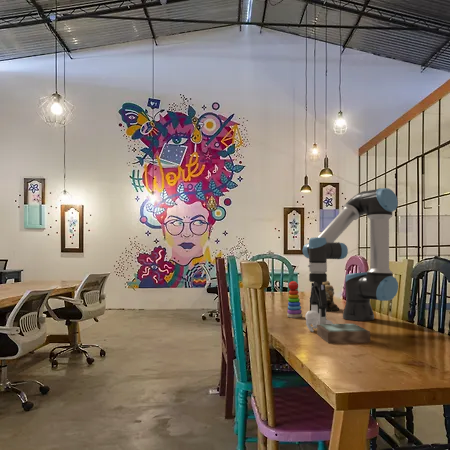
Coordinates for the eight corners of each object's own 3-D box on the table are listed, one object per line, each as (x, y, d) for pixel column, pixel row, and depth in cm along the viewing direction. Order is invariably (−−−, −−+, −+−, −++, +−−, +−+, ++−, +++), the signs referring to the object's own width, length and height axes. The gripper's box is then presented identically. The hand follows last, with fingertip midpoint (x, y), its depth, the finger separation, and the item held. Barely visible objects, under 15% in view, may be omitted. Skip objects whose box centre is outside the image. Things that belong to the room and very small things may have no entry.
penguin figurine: (305, 309, 183) (333, 312, 181) (304, 328, 183) (331, 331, 181) (305, 311, 177) (334, 314, 175) (304, 331, 176) (333, 334, 174)
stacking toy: (301, 315, 220) (300, 280, 221) (303, 318, 212) (302, 281, 213) (286, 315, 221) (286, 280, 222) (287, 318, 213) (286, 281, 214)
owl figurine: (339, 312, 231) (338, 282, 232) (317, 312, 234) (316, 282, 235) (339, 308, 248) (338, 279, 249) (319, 307, 251) (318, 279, 252)
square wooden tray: (355, 333, 171) (355, 323, 171) (370, 342, 155) (369, 330, 155) (317, 334, 170) (317, 323, 171) (328, 343, 154) (327, 331, 155)
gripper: (303, 271, 192) (303, 317, 191) (316, 274, 168) (317, 326, 166) (319, 271, 193) (319, 317, 191) (334, 274, 168) (335, 326, 166)
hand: (318, 322), depth 179 cm, fingers open, 13 cm apart
